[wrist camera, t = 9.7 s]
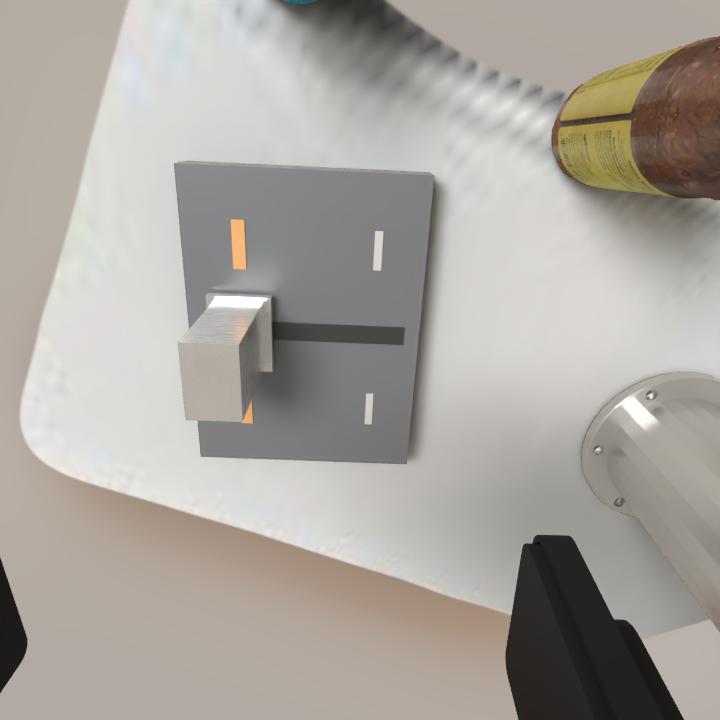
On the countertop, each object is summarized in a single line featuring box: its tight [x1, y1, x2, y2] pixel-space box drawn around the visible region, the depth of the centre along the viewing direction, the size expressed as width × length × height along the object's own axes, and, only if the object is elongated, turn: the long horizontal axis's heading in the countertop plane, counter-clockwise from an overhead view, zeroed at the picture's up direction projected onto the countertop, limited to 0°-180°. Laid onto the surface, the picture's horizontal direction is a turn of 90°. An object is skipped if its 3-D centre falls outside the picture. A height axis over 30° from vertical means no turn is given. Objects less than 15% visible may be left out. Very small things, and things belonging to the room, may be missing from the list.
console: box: [174, 161, 434, 464], centre depth 35 cm, size 15×20×3 cm
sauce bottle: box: [552, 36, 720, 200], centre depth 22 cm, size 6×6×20 cm
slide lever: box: [178, 293, 274, 422], centre depth 30 cm, size 4×5×8 cm
